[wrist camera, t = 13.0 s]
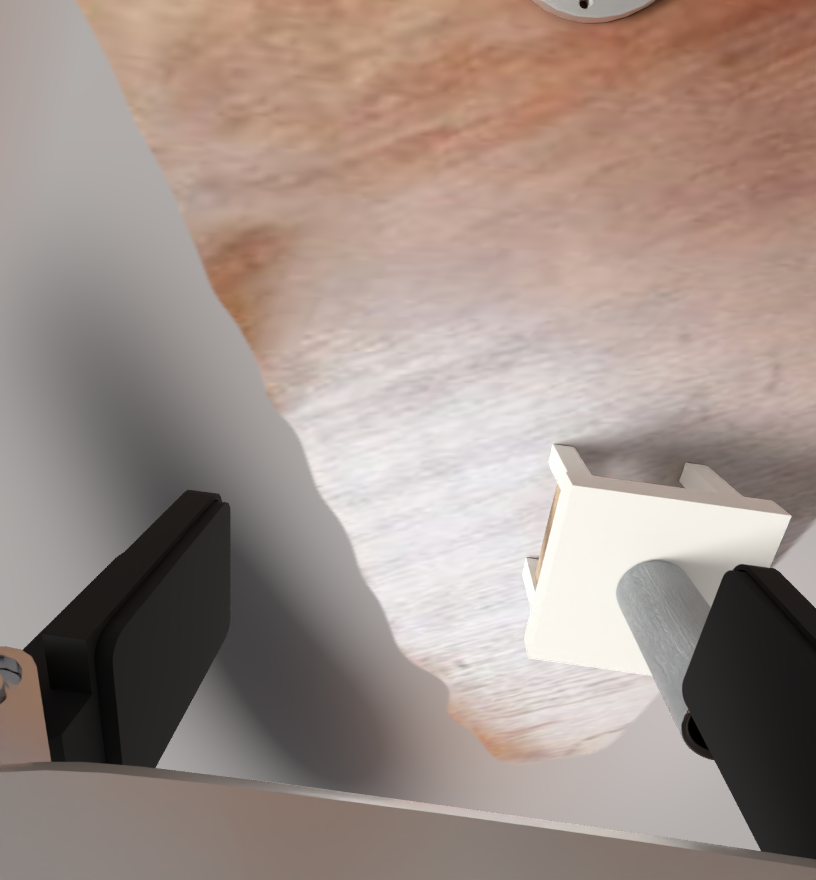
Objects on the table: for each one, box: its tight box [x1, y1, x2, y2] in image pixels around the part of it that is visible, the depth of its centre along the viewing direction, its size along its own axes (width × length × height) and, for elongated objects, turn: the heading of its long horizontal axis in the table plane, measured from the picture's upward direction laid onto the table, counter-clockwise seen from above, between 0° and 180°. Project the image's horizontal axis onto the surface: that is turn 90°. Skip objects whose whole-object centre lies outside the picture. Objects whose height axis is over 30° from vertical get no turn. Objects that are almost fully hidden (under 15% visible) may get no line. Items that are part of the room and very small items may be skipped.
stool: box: [522, 444, 792, 676], centre depth 39 cm, size 13×13×9 cm
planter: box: [616, 560, 714, 760], centre depth 30 cm, size 4×4×10 cm
